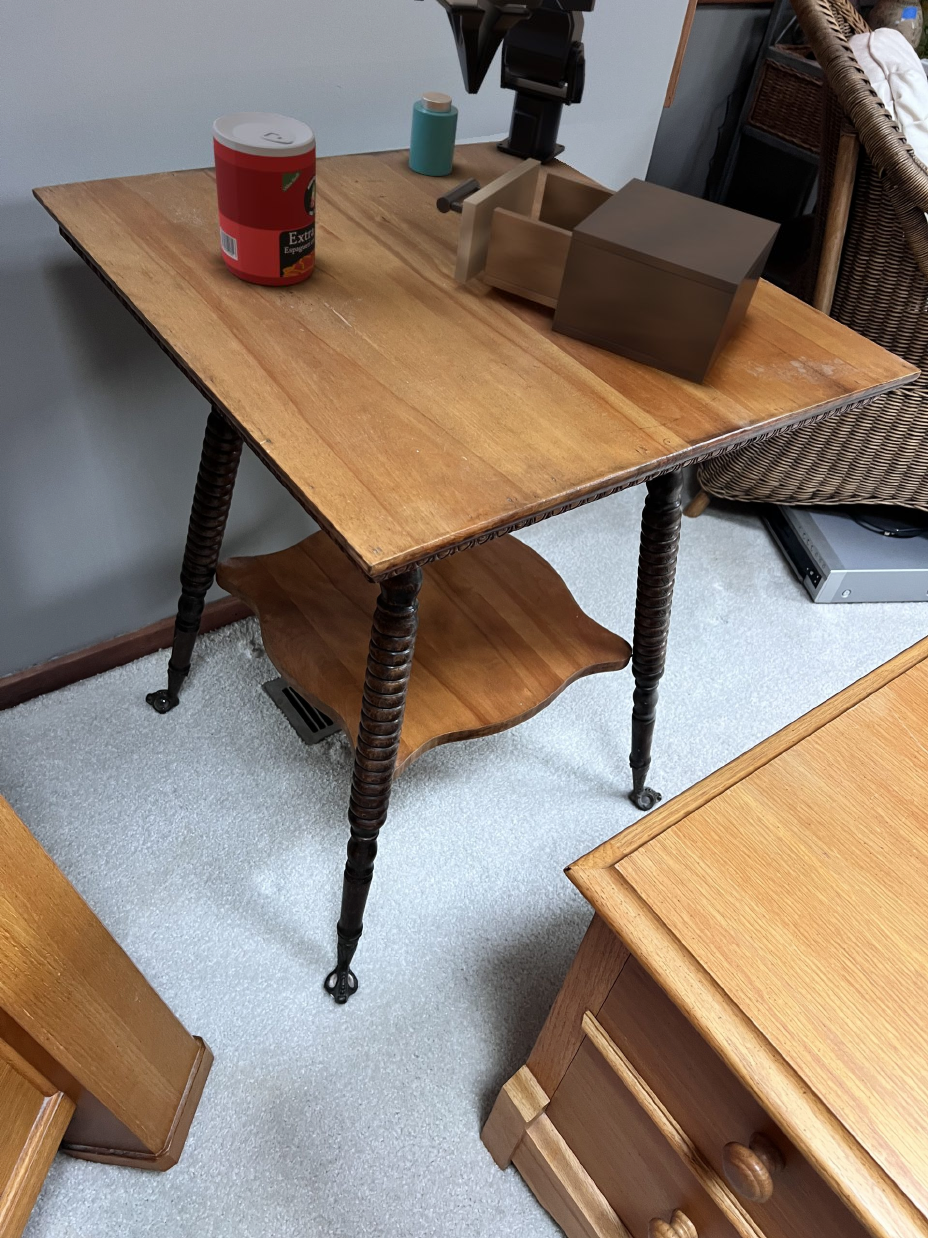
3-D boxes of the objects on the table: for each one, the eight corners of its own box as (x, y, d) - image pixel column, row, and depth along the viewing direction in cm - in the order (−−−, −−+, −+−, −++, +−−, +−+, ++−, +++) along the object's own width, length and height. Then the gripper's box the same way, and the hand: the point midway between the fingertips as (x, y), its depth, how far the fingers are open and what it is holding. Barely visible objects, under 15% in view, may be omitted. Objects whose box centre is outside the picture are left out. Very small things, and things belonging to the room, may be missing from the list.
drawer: (411, 264, 77) (417, 184, 72) (477, 217, 86) (488, 144, 81) (583, 327, 73) (603, 247, 68) (635, 272, 82) (655, 198, 77)
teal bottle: (421, 155, 98) (428, 85, 93) (459, 167, 96) (467, 97, 91) (400, 166, 94) (405, 95, 89) (439, 179, 93) (446, 108, 88)
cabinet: (550, 329, 74) (573, 228, 68) (609, 270, 83) (633, 176, 77) (701, 385, 71) (738, 284, 64) (744, 317, 80) (781, 223, 74)
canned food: (298, 295, 72) (297, 154, 64) (207, 274, 73) (194, 132, 65) (327, 257, 78) (329, 123, 70) (241, 239, 78) (233, 103, 70)
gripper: (412, -127, 59) (396, 123, 70) (650, -100, 65) (600, 127, 76) (370, -155, 66) (362, 77, 77) (588, -128, 72) (551, 84, 83)
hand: (471, 92), depth 78 cm, fingers closed
